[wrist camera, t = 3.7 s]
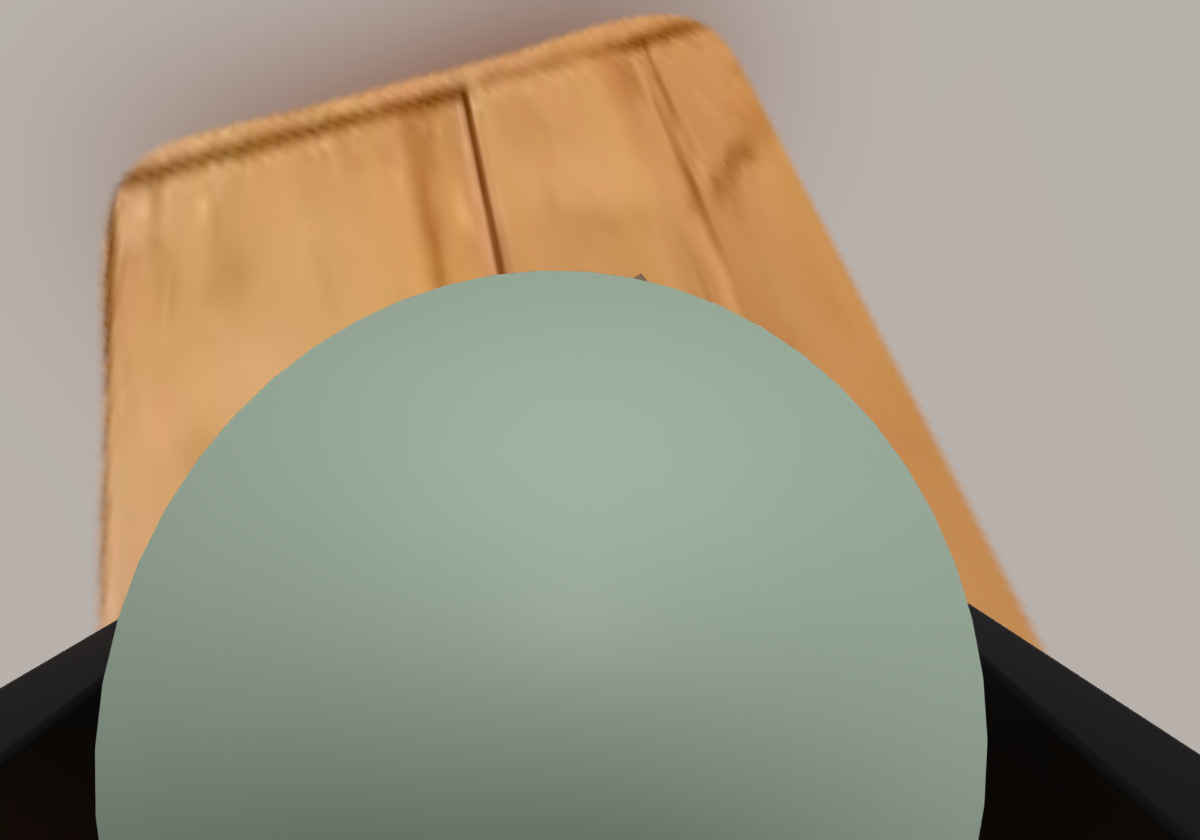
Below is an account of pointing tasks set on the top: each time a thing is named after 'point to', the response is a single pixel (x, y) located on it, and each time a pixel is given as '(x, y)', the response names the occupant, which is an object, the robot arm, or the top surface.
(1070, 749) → the robot arm
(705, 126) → the top surface
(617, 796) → the peg
